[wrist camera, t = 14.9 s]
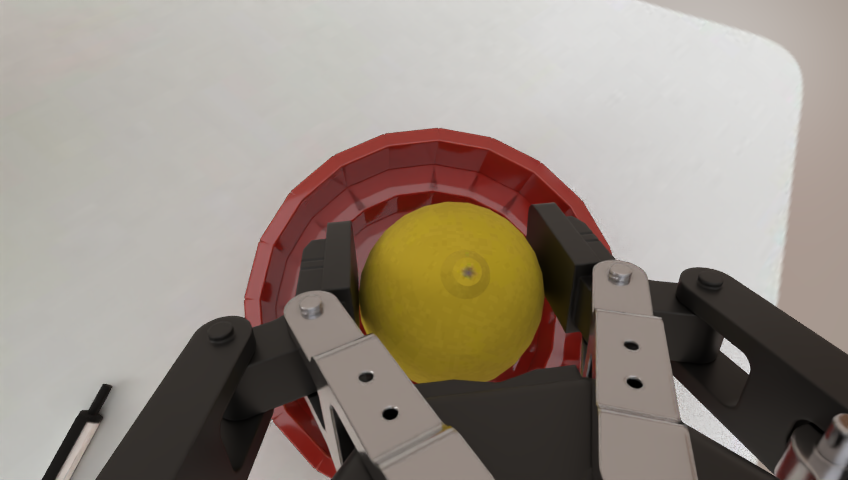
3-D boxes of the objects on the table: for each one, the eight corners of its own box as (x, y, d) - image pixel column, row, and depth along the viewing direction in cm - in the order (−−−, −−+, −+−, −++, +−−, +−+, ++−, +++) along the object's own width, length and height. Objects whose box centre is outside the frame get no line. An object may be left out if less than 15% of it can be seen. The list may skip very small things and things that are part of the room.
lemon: (357, 378, 18) (331, 383, 11) (374, 234, 20) (364, 148, 12) (504, 392, 19) (584, 408, 11) (511, 249, 20) (587, 173, 12)
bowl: (216, 313, 23) (163, 297, 18) (429, 127, 26) (438, 65, 20) (426, 548, 21) (437, 610, 16) (629, 319, 24) (697, 306, 19)
